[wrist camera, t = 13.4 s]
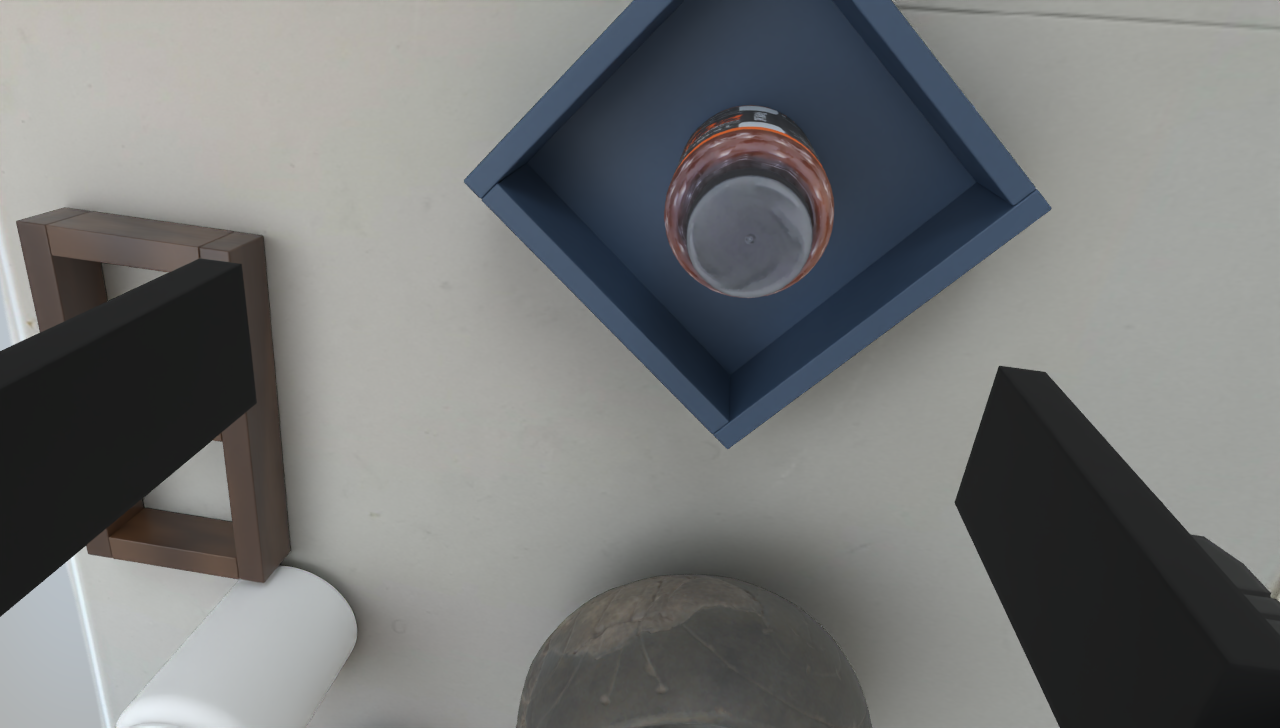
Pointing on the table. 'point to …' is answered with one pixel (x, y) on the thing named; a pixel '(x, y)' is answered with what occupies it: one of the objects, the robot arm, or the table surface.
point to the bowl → (691, 662)
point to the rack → (259, 534)
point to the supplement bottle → (748, 203)
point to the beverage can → (253, 659)
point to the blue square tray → (845, 145)
